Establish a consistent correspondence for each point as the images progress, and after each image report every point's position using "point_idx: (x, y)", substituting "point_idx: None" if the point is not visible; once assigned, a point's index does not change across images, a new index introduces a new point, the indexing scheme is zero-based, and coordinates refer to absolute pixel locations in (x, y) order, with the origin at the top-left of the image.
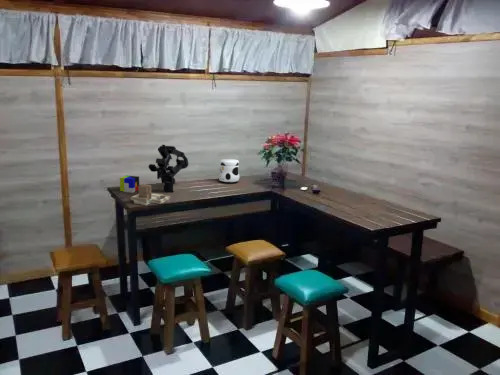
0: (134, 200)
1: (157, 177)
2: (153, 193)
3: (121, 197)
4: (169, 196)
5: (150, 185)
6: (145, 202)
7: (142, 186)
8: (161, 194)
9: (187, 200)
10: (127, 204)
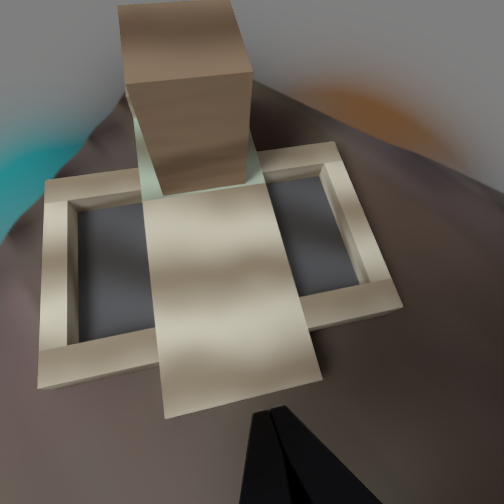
0: None
1: (286, 417)
2: (285, 363)
3: (439, 175)
4: (39, 372)
5: (128, 72)
6: None
7: (180, 6)
8: (177, 385)
9: None
10: (255, 81)
